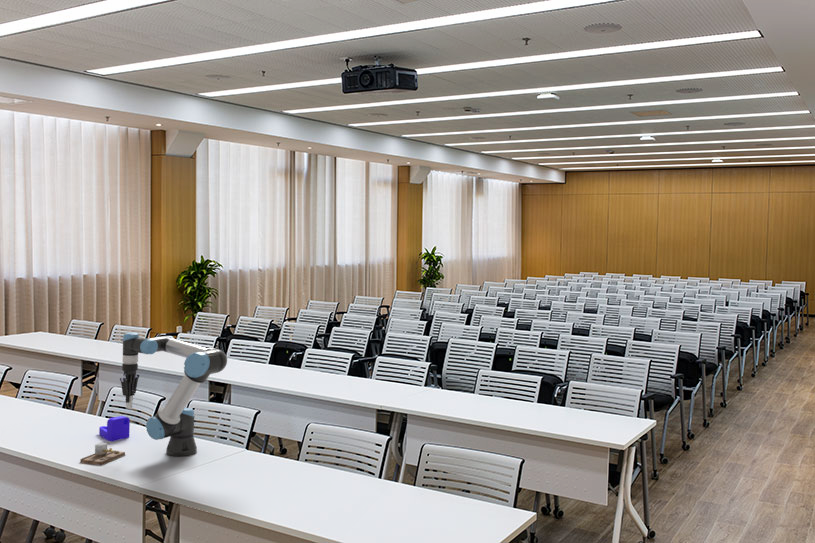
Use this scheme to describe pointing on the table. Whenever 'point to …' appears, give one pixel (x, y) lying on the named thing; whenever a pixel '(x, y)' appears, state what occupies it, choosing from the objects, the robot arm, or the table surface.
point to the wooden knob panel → (102, 458)
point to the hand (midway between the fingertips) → (128, 408)
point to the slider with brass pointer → (102, 449)
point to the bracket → (115, 428)
